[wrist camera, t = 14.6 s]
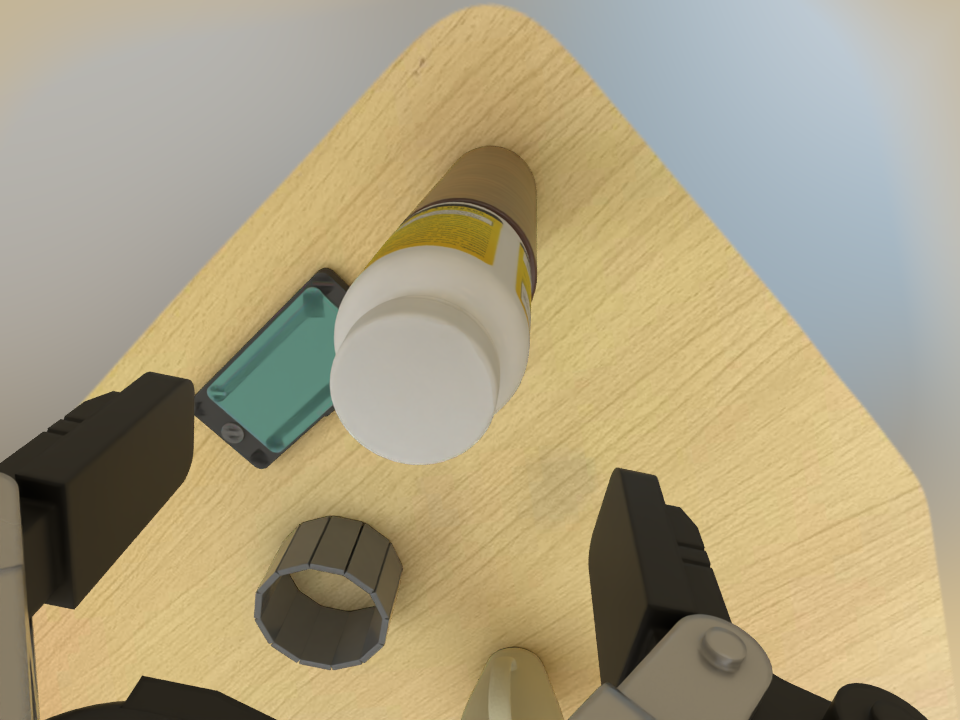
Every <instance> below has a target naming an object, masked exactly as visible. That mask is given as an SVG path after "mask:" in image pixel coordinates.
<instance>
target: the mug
mask: <svg viewBox="0 0 960 720" xmlns="http://www.w3.org/2000/svg"><path fill="white" fill-rule="evenodd" d="M461 720H564V718H563V715H562V712H561V709H560V706H559V703H558V701H557V698H556V696H555V693H554V691H553V688H552V686H551V683H550V681H549V678H548V676H547V673H546V671H545V668H544V666H543V663H542V662H541V660H540V659H539V658H538V657H537V656H536V655H535V654H534V653H532V652H530V651H528V650H525V649H522V648H505V649H502V650H499V651H497V652H495V653H494V654H493V655H492V656H491V657H490V658H489V659H488V661H487V663H486V665H485V667H484V669H483V671H482V673H481V675H480V677H479V679H478V682H477V684H476V686H475V688H474V690H473V692H472V694H471V696H470V698H469V700H468V702H467V705H466V707H465V709H464V712H463V715H462V718H461Z"/></svg>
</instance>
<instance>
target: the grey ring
mask: <svg viewBox="0 0 960 720" xmlns="http://www.w3.org/2000/svg"><path fill="white" fill-rule="evenodd" d="M362 524H363V522H361V521H356V520H351V519H346V518H341V517H336V516H332V517H330V516H327V517H323V518H319V519H315V520H311V521H307V522H303V523H302V524H299V525H298V526H297V527H296V529H295V530H294V531H293V532H292V533H291V534H290V535H289V536H288V537H287V538H286V539H285V540H284V541H283V543H282V545H281V546H280V548H279V550H278V552H277V554H276V556H275V558H274V559H273V561H272V563H271V565H270V567H269V569H268V571H267V573H266V574H265V576H264V578H263V580H262V582H261V584H260V586H259V587H258V589H257V592H256V596H255V610H254V618H255V622H256V623H257V625H258V627H259V628H260V630H261V632H262V633H263V635H264V637H265V638H266V640H267V642H268V643H269V644H271V643H272V644H271V646H272V647H273V648H275V649H276V650H278V651H279V652H281V653H282V654H284V655H285V656H287V657H288V658H290V659H292V660H293V661H295V662H296V663H297V662H298V661H299V660H300V661H299V664H302V665H307V666H312V667H317V668H322V669H327V670H331V667H332V669H333V670H337V669H342V668H347V667H352V666H357V665H361V664H362V662H363V663H365V662H366V661H367V660H368V659H370V658H371V657H372V656H373V655H374V654H375V653H376V652H378V651H379V650H380V649H381V648H382V647H383V646H384V644H385V642H386V638H387V634H388V630H389V626H390V623H391V619H392V615H393V611H394V608H395V604H396V600H397V596H398V592H399V587H400V582H401V576H402V571H403V568H402V564H401V562H400V560H399V558H398V556H397V554H396V552H395V550H394V547H393V545H392V543H389V540H388V539H387V538H385V537H384V536H382V535H381V534H380V533H378V532H377V531H376V530H374V529H373V528H371V527H370V526H369V525H367V524H366V523H365V524H364V525H363V526H362ZM307 569H314V570H319V571H324V572H328V573H333V574H338V575H343V576H345V577H346V578H347V579H349V580H350V581H352V582H353V583H355V584H356V585H357V586H359V587H360V588H362V589H363V590H365V591H366V592H367V593H369V594H370V595H371V597H372V599H373V601H374V603H375V605H376V606H374V607H369V608H365V609H360V610H356V611H351V612H347V611H343V610H338V609H333V608H328V607H323V606H320V605H319V604H317V603H316V602H315V601H313V600H312V599H310V598H309V597H307V596H306V595H304V594H303V593H301V592H300V591H298V589H297V587H296V585H295V584H294V582H293V580H292V578H291V577H290V575H289V574H290V573H294V572H299V571H303V570H307Z"/></svg>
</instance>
